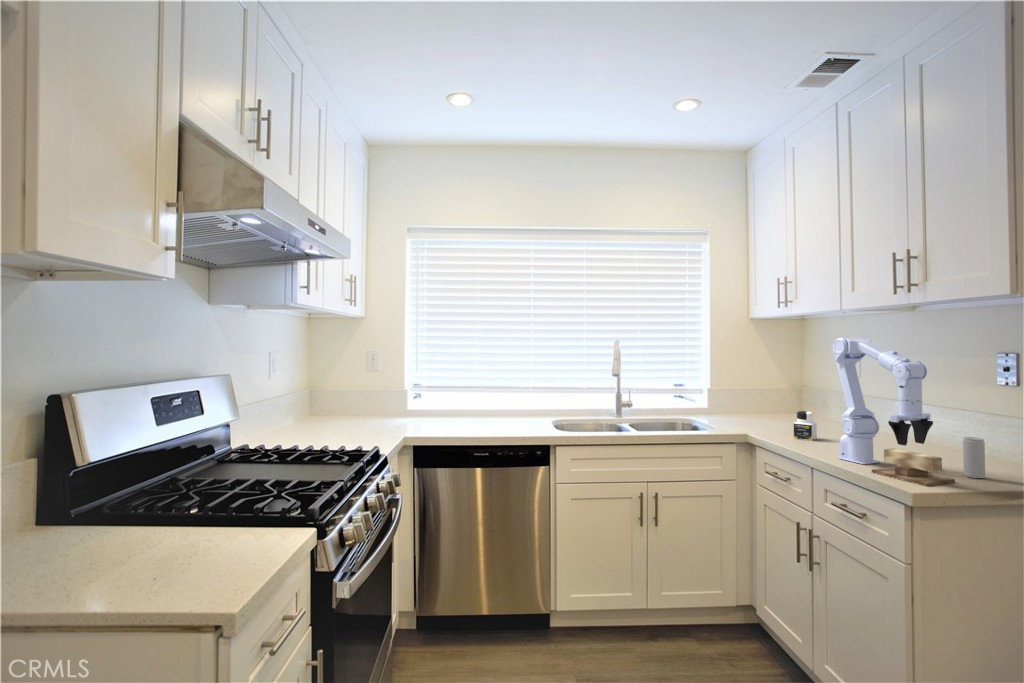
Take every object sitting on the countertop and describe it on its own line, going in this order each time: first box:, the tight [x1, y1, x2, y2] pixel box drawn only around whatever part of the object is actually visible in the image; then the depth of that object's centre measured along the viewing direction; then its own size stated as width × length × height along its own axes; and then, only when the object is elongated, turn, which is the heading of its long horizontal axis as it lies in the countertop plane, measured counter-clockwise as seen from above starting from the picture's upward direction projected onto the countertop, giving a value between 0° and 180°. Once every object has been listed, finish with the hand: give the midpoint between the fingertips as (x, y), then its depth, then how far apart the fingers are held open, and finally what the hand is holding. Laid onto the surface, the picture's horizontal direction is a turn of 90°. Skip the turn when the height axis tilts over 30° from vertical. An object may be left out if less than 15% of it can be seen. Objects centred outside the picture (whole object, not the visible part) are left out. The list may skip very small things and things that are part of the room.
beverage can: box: [962, 436, 986, 479], centre depth 149 cm, size 5×5×12 cm
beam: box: [883, 447, 943, 473], centre depth 150 cm, size 14×4×4 cm, turn 17°
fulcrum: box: [871, 465, 956, 487], centre depth 150 cm, size 16×12×4 cm
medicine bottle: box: [793, 410, 818, 441], centre depth 212 cm, size 7×7×12 cm
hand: (911, 444), depth 150 cm, fingers open, 7 cm apart
